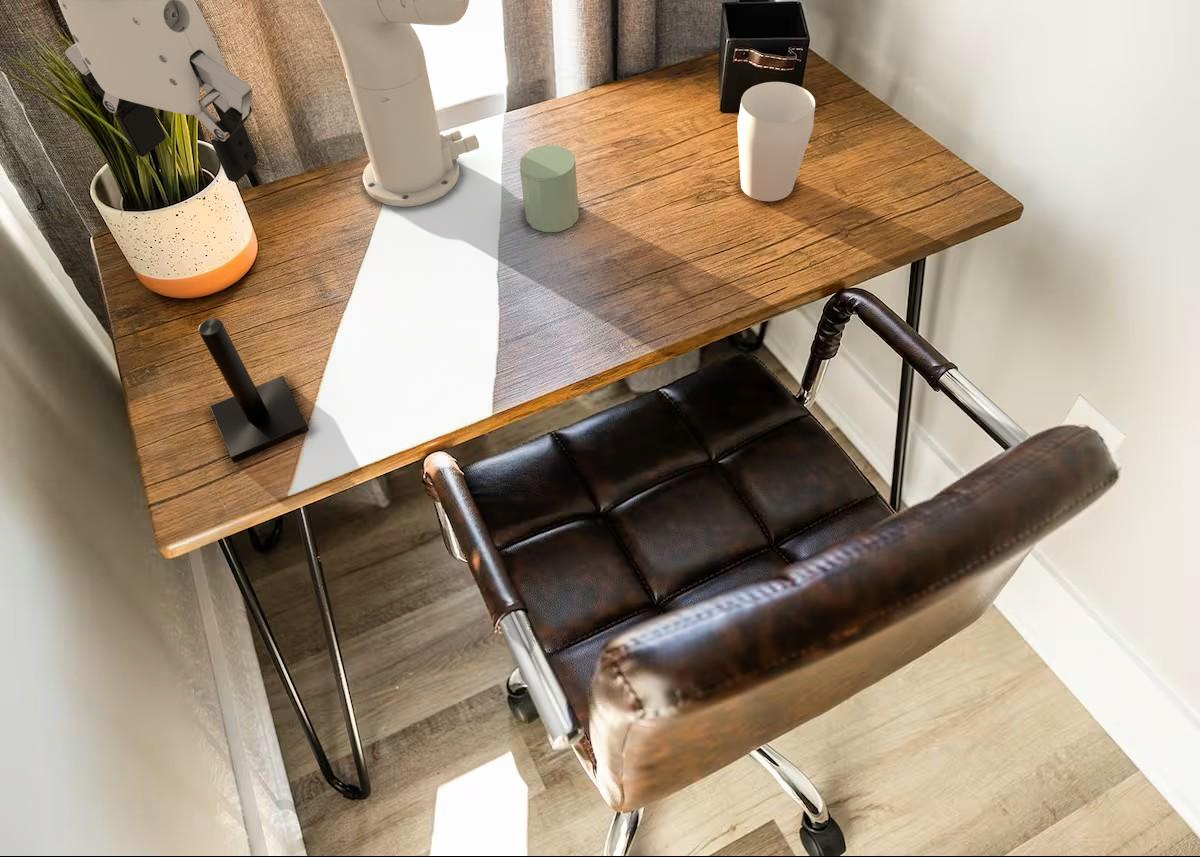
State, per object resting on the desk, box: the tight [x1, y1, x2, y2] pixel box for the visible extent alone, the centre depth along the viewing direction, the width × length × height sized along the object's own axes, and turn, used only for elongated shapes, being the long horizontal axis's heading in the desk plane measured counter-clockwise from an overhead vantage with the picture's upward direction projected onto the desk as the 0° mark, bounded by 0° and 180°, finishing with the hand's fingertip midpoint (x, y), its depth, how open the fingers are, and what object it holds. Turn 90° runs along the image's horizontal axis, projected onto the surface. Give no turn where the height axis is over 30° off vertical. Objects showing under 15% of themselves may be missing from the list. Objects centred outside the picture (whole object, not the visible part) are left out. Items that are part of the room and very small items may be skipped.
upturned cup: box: [519, 144, 580, 233], centre depth 110 cm, size 7×7×8 cm
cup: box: [736, 81, 816, 202], centre depth 110 cm, size 9×9×12 cm
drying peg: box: [197, 318, 310, 464], centre depth 88 cm, size 8×8×14 cm
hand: (197, 159), depth 75 cm, fingers open, 9 cm apart
